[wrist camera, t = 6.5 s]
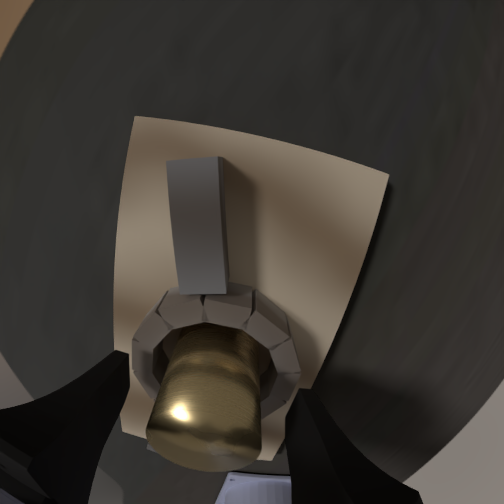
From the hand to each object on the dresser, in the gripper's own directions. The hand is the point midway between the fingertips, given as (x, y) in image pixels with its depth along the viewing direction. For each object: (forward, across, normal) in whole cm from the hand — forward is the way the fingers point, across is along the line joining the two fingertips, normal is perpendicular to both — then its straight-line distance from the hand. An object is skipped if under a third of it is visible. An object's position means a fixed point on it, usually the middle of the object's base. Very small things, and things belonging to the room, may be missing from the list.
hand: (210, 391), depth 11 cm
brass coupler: (+3, 0, 0) cm, 3 cm away
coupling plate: (+4, 0, 0) cm, 4 cm away
